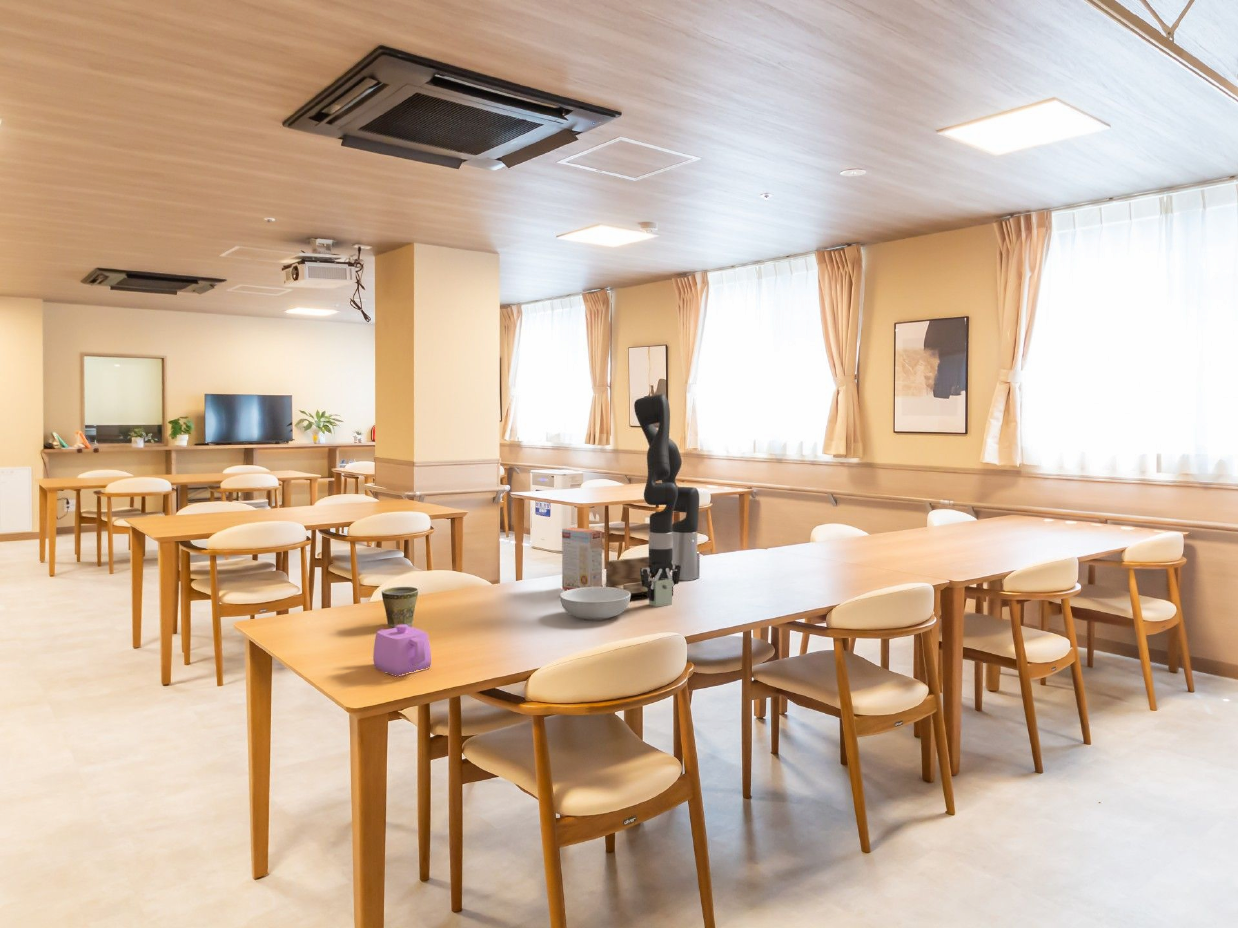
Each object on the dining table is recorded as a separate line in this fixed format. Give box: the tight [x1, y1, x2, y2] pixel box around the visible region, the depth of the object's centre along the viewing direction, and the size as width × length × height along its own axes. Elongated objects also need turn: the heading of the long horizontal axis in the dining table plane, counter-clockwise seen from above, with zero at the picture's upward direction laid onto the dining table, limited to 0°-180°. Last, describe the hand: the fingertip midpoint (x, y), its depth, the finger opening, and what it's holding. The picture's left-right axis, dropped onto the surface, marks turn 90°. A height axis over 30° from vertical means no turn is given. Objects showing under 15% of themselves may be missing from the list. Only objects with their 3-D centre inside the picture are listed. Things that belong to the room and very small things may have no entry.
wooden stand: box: [605, 556, 651, 597], centre depth 268 cm, size 16×8×12 cm, turn 120°
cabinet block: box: [648, 578, 673, 608], centre depth 258 cm, size 6×5×8 cm
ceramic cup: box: [381, 586, 419, 628], centre depth 234 cm, size 13×10×10 cm
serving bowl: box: [559, 586, 632, 621], centre depth 243 cm, size 21×21×7 cm
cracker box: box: [561, 527, 603, 591], centre depth 278 cm, size 14×6×21 cm, turn 46°
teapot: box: [372, 625, 432, 677], centre depth 194 cm, size 18×10×10 cm, turn 45°
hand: (660, 599), depth 258 cm, fingers closed on cabinet block, 6 cm apart
